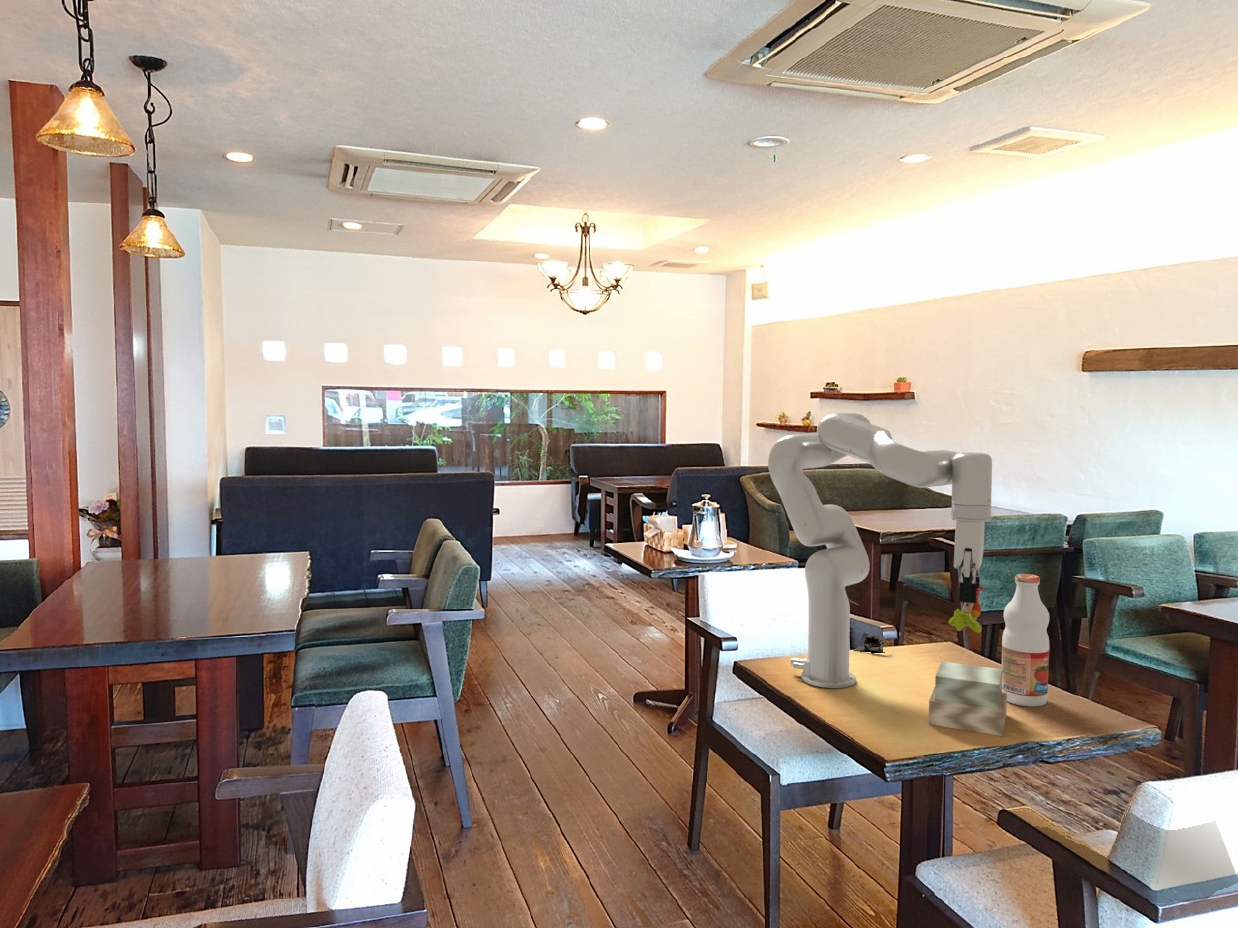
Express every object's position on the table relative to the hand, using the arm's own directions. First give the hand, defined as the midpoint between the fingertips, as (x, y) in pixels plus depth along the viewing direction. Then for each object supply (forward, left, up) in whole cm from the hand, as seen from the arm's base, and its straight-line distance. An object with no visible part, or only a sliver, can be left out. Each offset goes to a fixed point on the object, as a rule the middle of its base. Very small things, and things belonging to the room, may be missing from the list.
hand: (969, 597), depth 174 cm
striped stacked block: (0, 0, -26) cm, 26 cm away
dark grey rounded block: (-26, +41, -27) cm, 56 cm away
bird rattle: (0, 0, -7) cm, 7 cm away
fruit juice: (+10, +18, -26) cm, 33 cm away
